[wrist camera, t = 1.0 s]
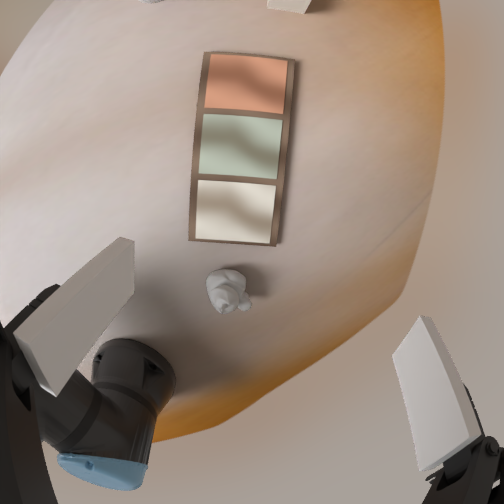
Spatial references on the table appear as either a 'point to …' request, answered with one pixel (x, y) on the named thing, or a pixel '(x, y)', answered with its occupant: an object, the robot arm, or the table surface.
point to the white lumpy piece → (227, 291)
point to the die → (289, 5)
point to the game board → (240, 148)
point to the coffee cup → (150, 1)
